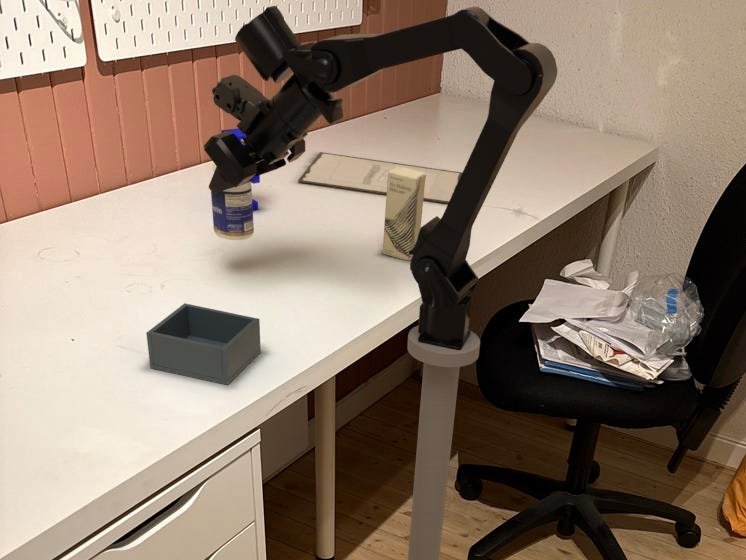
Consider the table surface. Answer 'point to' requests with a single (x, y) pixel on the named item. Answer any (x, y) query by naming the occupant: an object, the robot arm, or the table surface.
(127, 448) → the table surface
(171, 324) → the bin
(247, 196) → the pill bottle
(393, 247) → the box
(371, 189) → the picture frame
